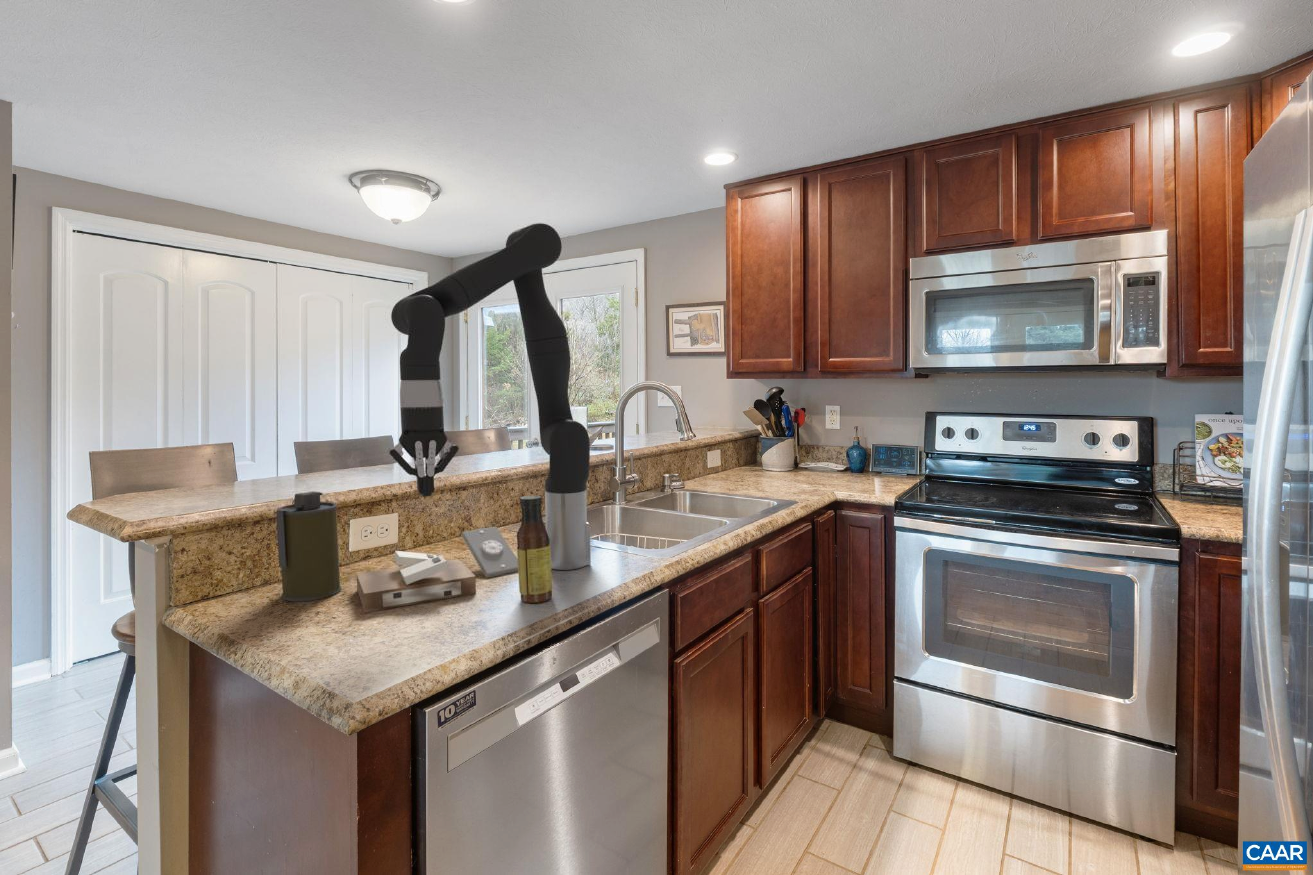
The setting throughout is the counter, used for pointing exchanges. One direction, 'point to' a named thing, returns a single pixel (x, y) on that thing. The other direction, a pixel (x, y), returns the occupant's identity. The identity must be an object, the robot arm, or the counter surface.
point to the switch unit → (413, 587)
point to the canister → (308, 548)
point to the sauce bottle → (533, 553)
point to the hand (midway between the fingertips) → (425, 495)
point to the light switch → (491, 551)
